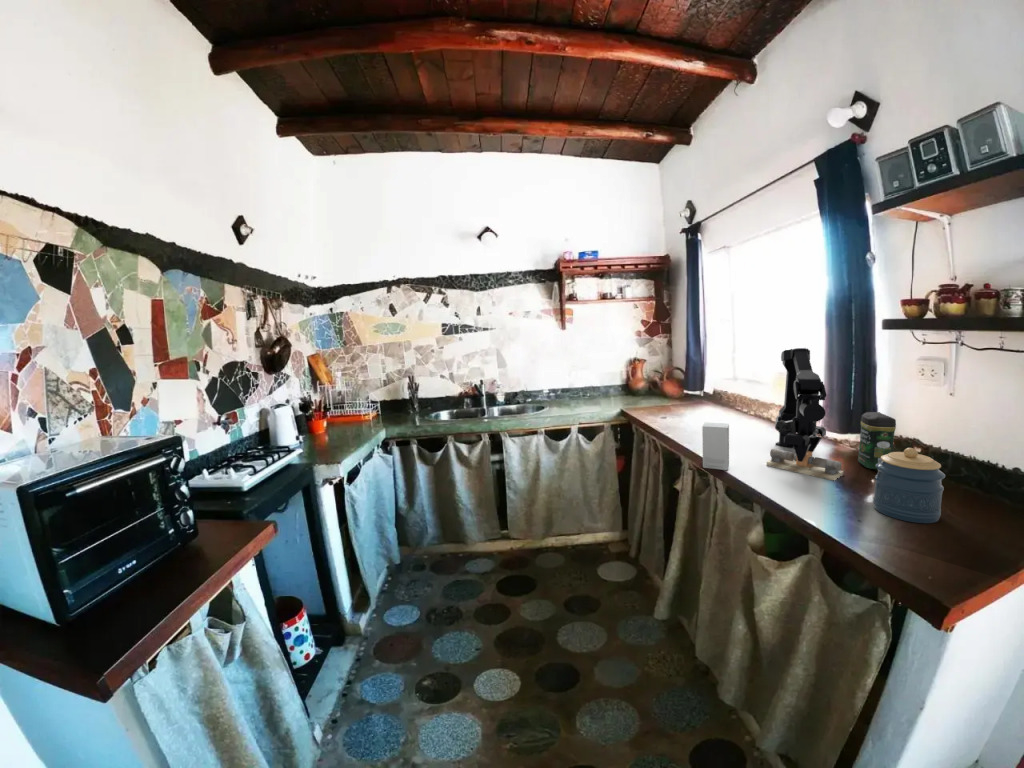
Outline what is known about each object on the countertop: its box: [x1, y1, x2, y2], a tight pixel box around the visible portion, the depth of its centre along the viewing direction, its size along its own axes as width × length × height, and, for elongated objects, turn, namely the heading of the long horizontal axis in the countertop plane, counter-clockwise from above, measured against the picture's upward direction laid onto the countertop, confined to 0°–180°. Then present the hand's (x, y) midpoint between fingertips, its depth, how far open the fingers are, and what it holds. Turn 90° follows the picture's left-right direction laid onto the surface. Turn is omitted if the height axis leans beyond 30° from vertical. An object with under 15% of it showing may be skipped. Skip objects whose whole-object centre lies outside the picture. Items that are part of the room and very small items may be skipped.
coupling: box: [794, 451, 815, 467], centre depth 141 cm, size 5×5×5 cm
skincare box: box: [701, 421, 730, 471], centre depth 147 cm, size 8×7×16 cm
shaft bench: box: [766, 448, 845, 481], centre depth 141 cm, size 20×8×5 cm, turn 35°
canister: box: [872, 447, 946, 524], centre depth 108 cm, size 13×13×18 cm
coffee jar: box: [857, 411, 897, 471], centre depth 140 cm, size 10×8×19 cm
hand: (803, 459), depth 141 cm, fingers open, 6 cm apart
